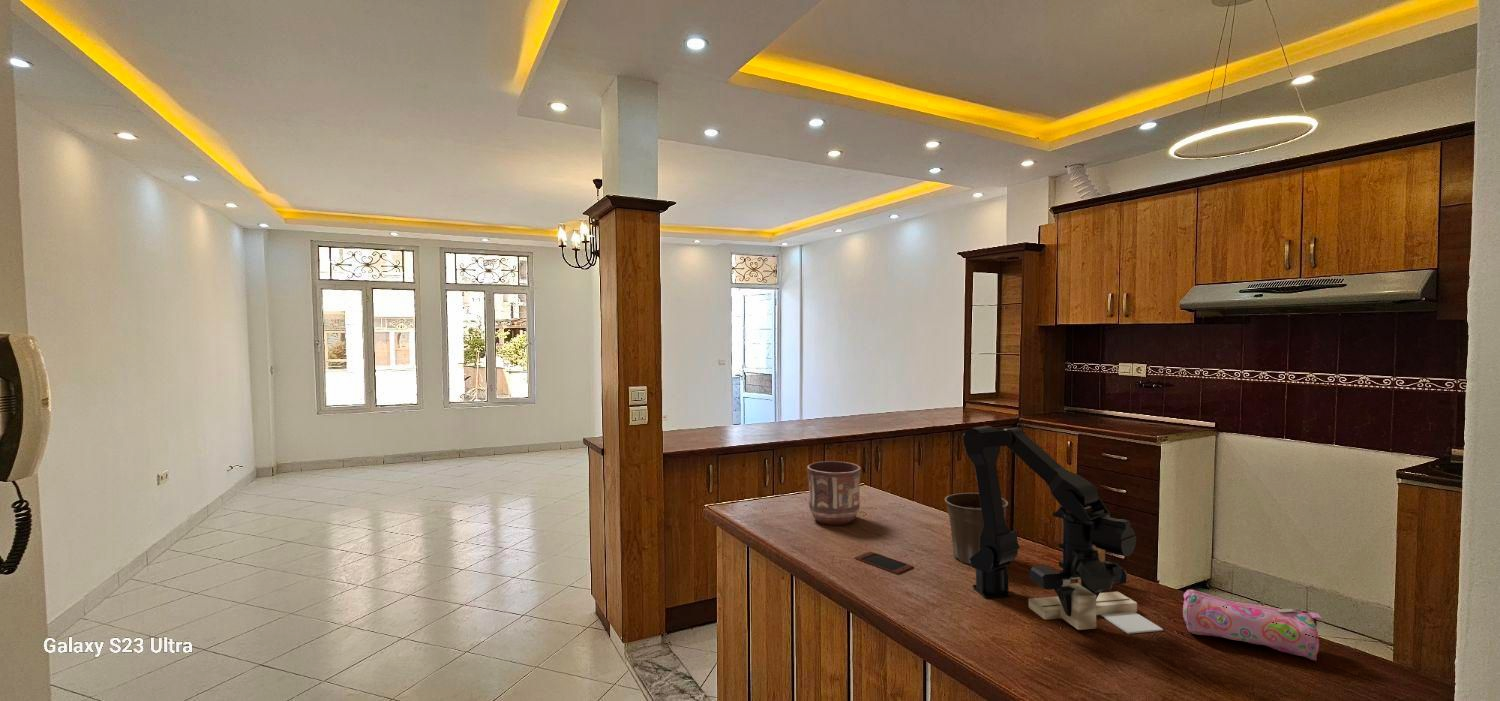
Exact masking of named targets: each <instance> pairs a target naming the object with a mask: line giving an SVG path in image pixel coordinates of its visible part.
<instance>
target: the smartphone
mask: <svg viewBox="0 0 1500 701" xmlns="http://www.w3.org/2000/svg"><path fill="white" fill-rule="evenodd" d="M855 559H856V560H855ZM854 560H855V561H858V560H859V561H858V562H860V561H861V562H860V563H863V562H864V563H863V564H866V565H868V566H871V565H872V567H874V566H875V568H877V569H881V570H882V571H886V572H889V573H891V574H894V575H896V576H898V575H902V574H904V573H907V572H909V571H910V570H914V569H915V566H913V565H911V564H909V563H906V562H904V561H901V560H896V559H894V558H891V557H888V556H885V555H883V554H879V553H878V552H877V553H876V552H874V551H868V552H866V553H862V554H860V555H857V556H855V557H854Z"/></svg>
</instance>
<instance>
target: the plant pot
mask: <svg viewBox="0 0 1500 701" xmlns="http://www.w3.org/2000/svg"><path fill="white" fill-rule="evenodd" d="M1001 498H1002V504H1003V511H1004V517H1005V518H1006V513H1007V507H1008V506H1009V502H1008V500H1006V499H1005V498H1004V497H1001ZM944 502H945V504H946V509H947V515H948V516H949V523H950V531H951V532H950V533H951V541H952V548H953V557H954V559H956V560H959V562H960V563H964V564H966V565H969V566H970V565H971V561H970V558H971V557H972V556H973V555H975V554H976V553H977V552H979V551H980V536H981V532H982V529H983V517H982V511H981V504H980V498H979V492H962V493H961V492H960V493H954V494H949V495H947V496H945V497H944ZM971 566H972V565H971Z"/></svg>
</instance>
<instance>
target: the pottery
mask: <svg viewBox="0 0 1500 701" xmlns="http://www.w3.org/2000/svg"><path fill="white" fill-rule="evenodd" d="M806 472H807V477H808V478H807V481H808V506H809V511H810V512H811V514H812V516H813V518H814V519H815V520H816V521H817V522H819V523H820V524H822V523H823V525H827V524H829V526H843V525H844V524H845V525H848V524H850V523H851V522H853V520H854V519H855V518H856V517H857V516H858V513H859V511H860V506H861V500H860V498H861V496H860V489H861V488H860V487H861V486H860V485H861V475H862V467H861V466H860V465H858V464H856V463H853V462H846V461H836V460H824V461H823V460H822V461H817V462H813V463H810V464H808V465H807V466H806Z"/></svg>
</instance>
